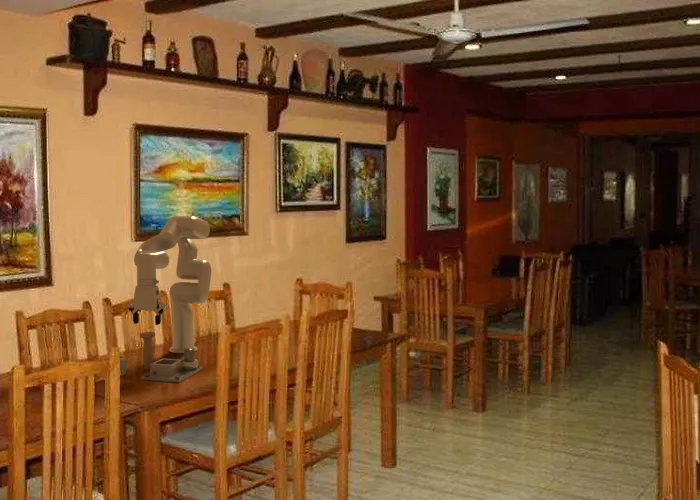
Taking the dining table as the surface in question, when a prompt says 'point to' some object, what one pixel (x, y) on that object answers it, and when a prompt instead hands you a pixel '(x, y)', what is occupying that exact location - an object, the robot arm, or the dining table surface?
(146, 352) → the handle
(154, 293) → the robot arm
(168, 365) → the fitting
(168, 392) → the dining table surface
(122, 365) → the hinge
